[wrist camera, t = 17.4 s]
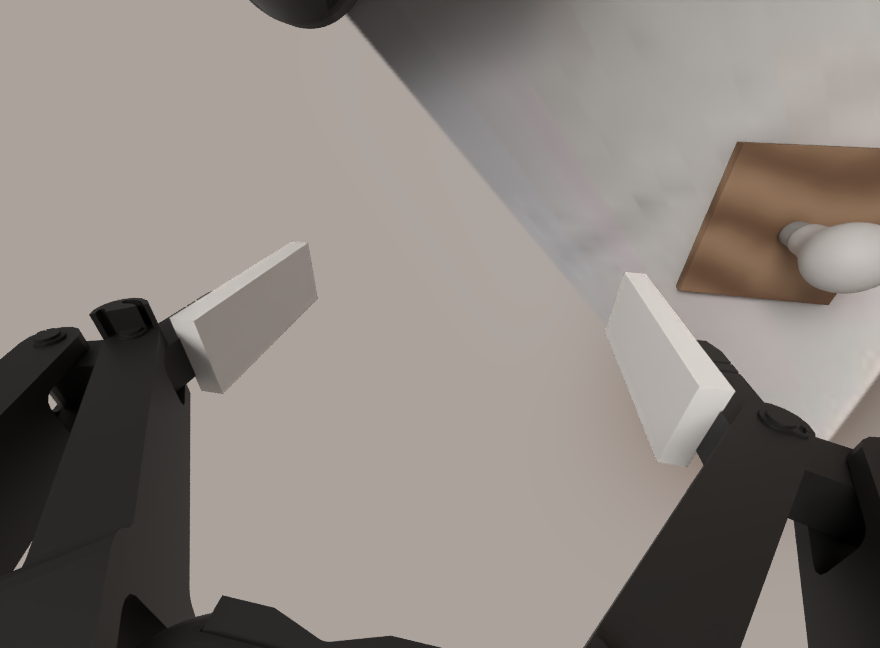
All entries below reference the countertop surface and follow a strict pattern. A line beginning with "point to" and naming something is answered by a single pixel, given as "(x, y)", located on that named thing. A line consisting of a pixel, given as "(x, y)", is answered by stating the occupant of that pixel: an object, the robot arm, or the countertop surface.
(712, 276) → the plate
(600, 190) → the countertop surface
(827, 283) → the lightbulb
